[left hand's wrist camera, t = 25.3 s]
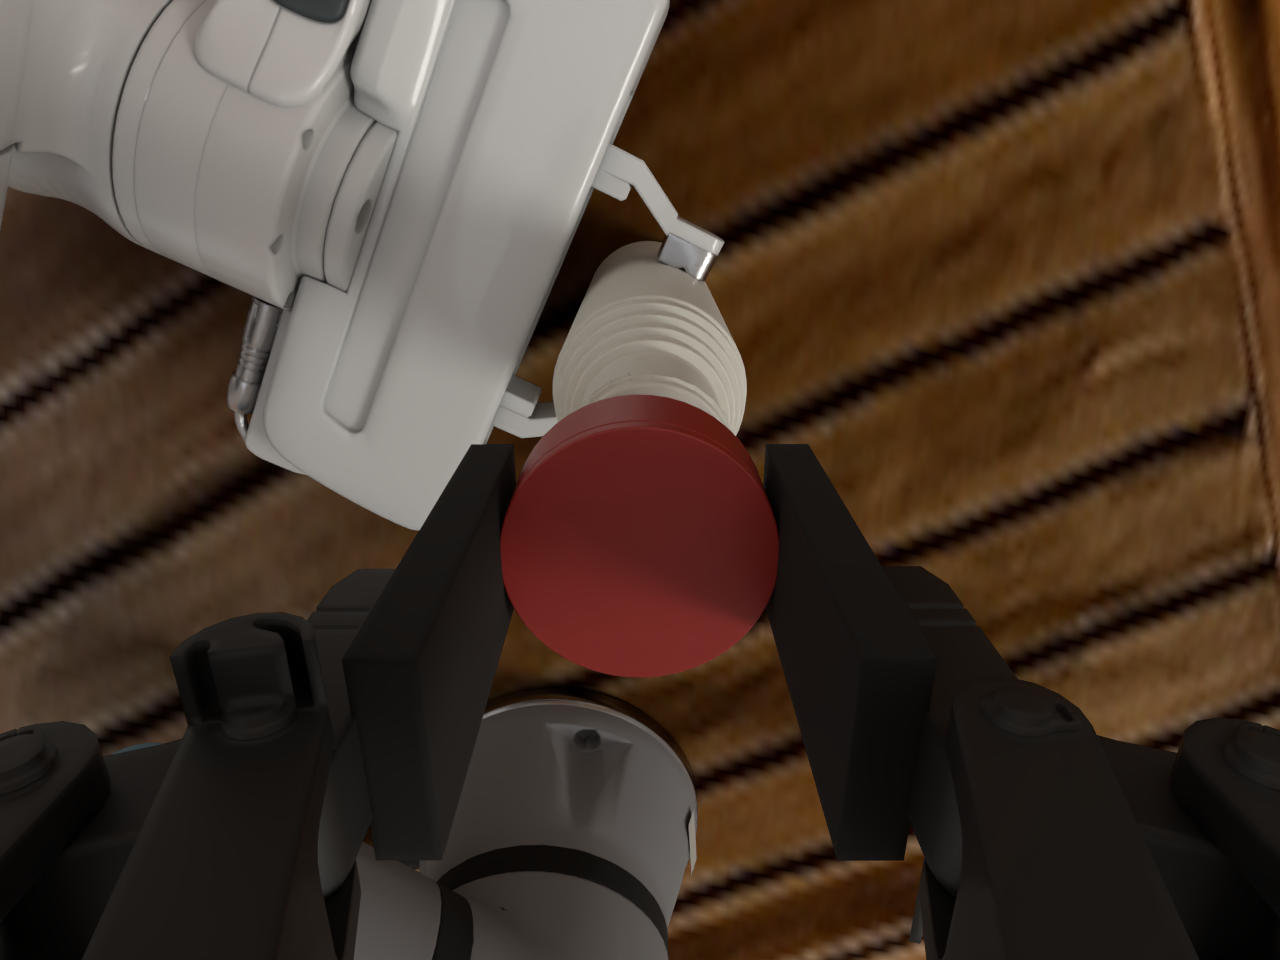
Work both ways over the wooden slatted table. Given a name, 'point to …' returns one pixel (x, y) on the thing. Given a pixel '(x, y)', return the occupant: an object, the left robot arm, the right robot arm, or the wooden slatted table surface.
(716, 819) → the wooden slatted table surface
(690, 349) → the bottle
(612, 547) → the cap
